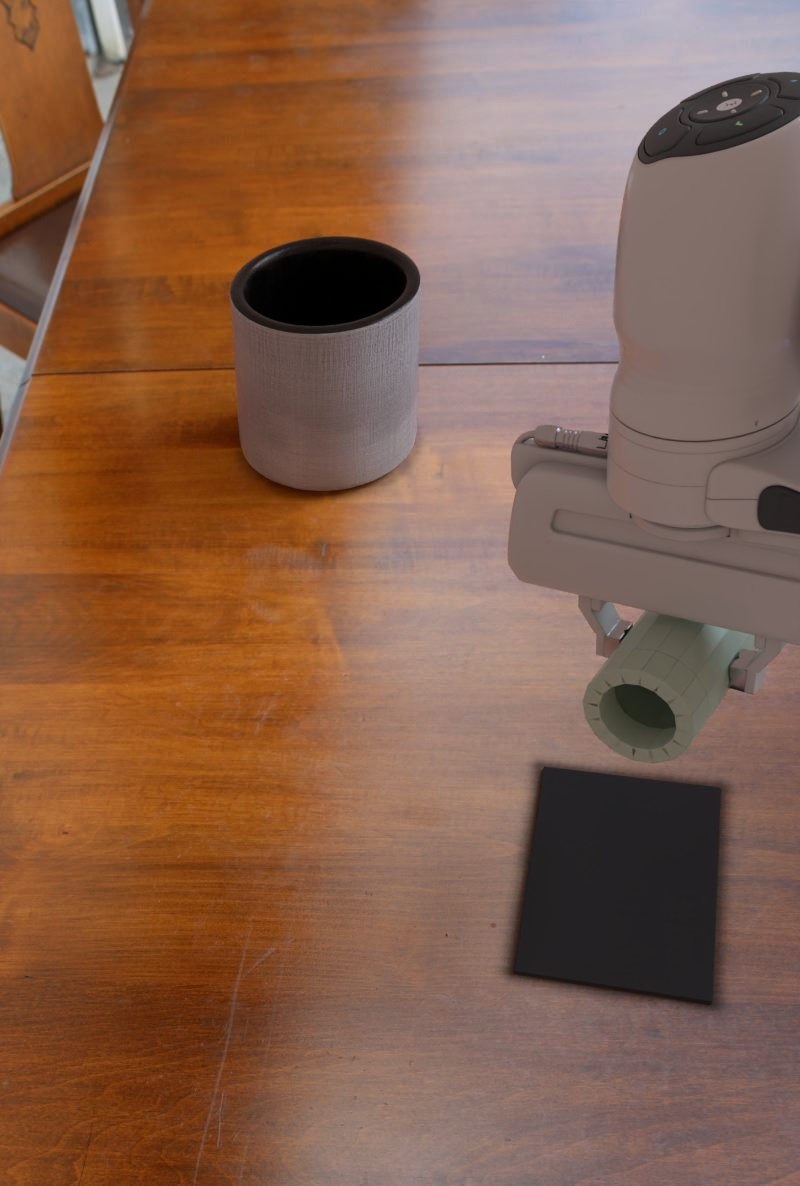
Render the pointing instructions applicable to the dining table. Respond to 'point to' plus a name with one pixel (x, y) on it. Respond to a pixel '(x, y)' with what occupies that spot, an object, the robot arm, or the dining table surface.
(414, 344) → the planter
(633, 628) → the green hollow cylinder
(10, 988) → the dining table surface
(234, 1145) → the dining table surface
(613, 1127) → the dining table surface
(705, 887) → the mat
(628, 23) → the dining table surface
